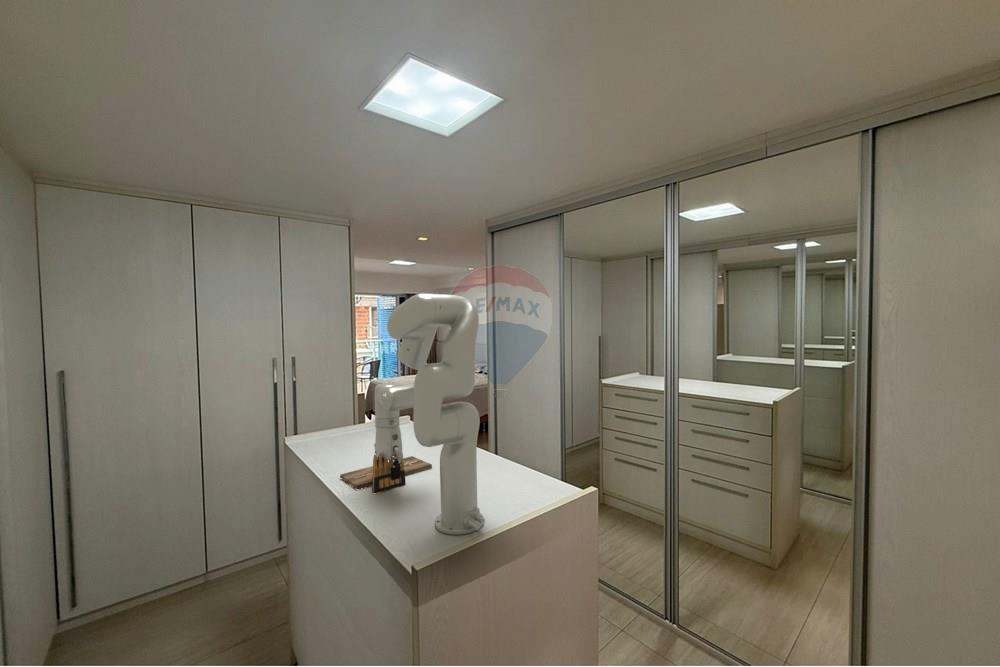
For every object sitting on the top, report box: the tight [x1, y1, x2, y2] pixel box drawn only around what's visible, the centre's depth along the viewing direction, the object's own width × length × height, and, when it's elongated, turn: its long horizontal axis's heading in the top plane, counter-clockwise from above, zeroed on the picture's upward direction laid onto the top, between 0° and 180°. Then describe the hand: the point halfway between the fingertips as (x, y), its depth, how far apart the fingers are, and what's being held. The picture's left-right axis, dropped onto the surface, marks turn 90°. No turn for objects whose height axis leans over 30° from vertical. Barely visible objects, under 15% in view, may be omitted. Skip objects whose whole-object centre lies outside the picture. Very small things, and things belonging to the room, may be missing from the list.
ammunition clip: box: [371, 451, 407, 494], centre depth 131 cm, size 11×2×12 cm, turn 129°
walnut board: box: [339, 455, 433, 490], centre depth 145 cm, size 14×28×2 cm, turn 132°
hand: (388, 474), depth 131 cm, fingers open, 9 cm apart
